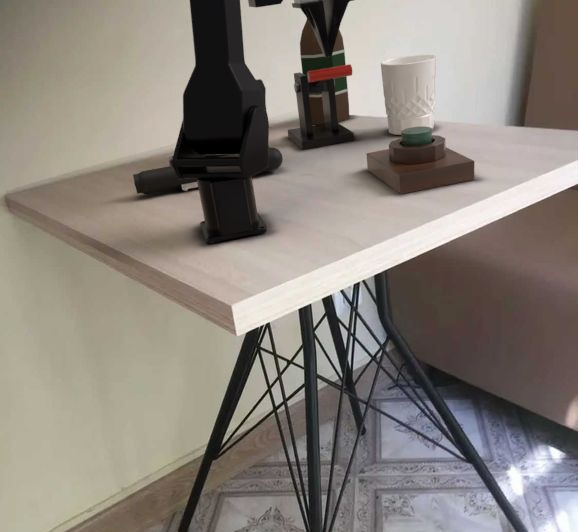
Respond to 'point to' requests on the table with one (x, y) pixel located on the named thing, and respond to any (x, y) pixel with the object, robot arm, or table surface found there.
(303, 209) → the table surface
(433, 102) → the white cup
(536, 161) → the table surface
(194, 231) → the table surface
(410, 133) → the button
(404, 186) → the button block
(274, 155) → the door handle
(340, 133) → the bracket
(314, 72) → the lever
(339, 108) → the beer bottle
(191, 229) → the table surface
